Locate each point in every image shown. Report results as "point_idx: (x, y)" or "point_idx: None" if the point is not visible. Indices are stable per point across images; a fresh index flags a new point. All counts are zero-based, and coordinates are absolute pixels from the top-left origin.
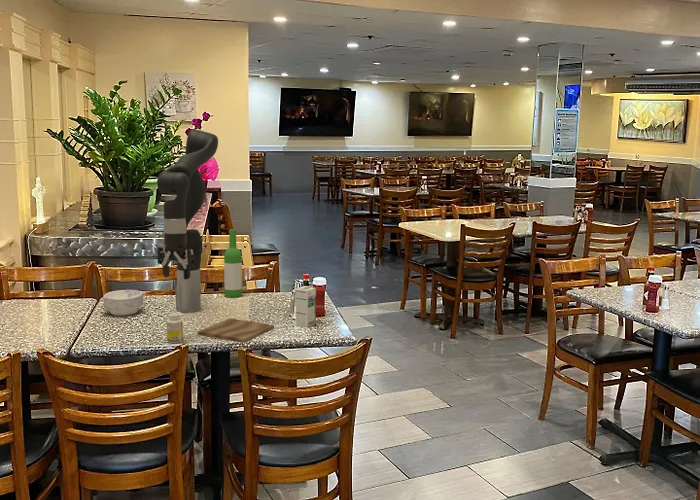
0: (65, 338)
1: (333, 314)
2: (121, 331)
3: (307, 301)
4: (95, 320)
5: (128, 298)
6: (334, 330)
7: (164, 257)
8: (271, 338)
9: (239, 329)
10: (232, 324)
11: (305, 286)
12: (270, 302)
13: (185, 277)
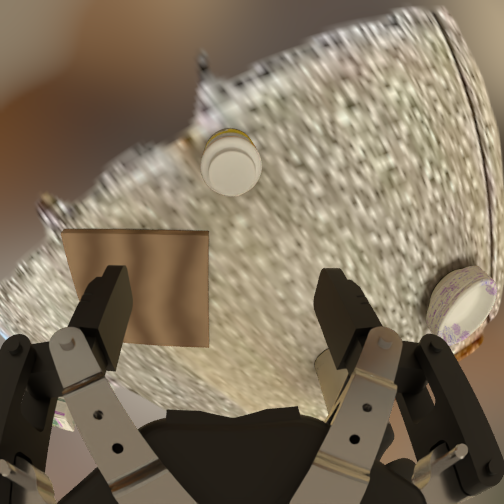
0: (483, 95)
1: None
2: (415, 176)
3: None
4: (480, 227)
5: (457, 300)
6: None
7: (406, 421)
8: (48, 279)
9: None
10: (168, 316)
11: (67, 429)
12: None
13: (104, 273)
